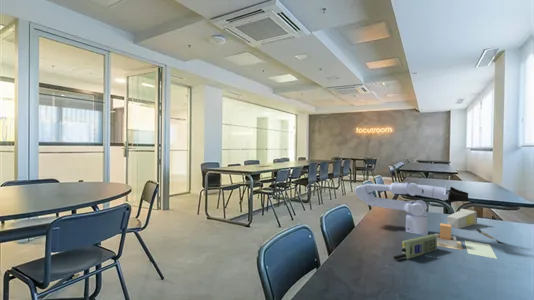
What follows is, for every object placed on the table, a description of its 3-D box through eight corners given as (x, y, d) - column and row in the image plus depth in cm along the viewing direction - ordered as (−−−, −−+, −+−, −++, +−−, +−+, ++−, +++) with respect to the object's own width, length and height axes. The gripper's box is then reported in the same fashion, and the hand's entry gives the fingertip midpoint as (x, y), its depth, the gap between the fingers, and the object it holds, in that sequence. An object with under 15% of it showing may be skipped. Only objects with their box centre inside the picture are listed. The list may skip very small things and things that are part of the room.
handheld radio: (438, 251, 112) (399, 263, 100) (430, 249, 115) (391, 260, 103) (438, 235, 112) (398, 244, 100) (430, 233, 115) (391, 242, 103)
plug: (439, 243, 119) (440, 225, 119) (439, 240, 122) (440, 223, 122) (450, 245, 117) (451, 226, 117) (450, 242, 120) (450, 224, 120)
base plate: (428, 245, 118) (428, 244, 118) (429, 237, 128) (429, 236, 128) (462, 251, 111) (462, 250, 111) (460, 243, 121) (460, 241, 121)
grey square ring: (434, 243, 118) (434, 238, 118) (434, 238, 125) (434, 233, 125) (456, 247, 114) (456, 241, 114) (455, 242, 121) (455, 236, 121)
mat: (467, 254, 108) (468, 253, 108) (464, 241, 123) (464, 240, 123) (497, 260, 103) (497, 258, 103) (489, 245, 118) (489, 244, 118)
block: (459, 229, 143) (459, 214, 143) (443, 225, 150) (443, 211, 150) (477, 225, 152) (477, 210, 152) (461, 221, 159) (461, 208, 159)
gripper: (432, 186, 126) (468, 191, 117) (435, 181, 137) (468, 185, 129) (431, 201, 126) (467, 207, 118) (434, 195, 138) (467, 200, 130)
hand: (468, 197), depth 124 cm, fingers open, 7 cm apart
